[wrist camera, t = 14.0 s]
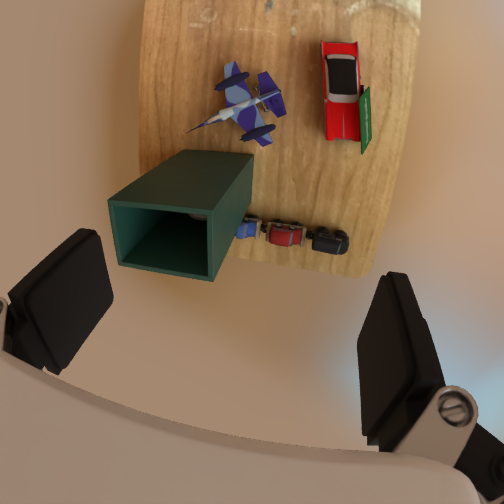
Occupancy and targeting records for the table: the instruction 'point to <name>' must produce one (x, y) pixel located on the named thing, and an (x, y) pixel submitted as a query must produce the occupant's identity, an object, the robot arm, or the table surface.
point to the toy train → (294, 235)
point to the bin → (182, 213)
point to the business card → (365, 119)
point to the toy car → (341, 90)
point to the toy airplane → (248, 104)
